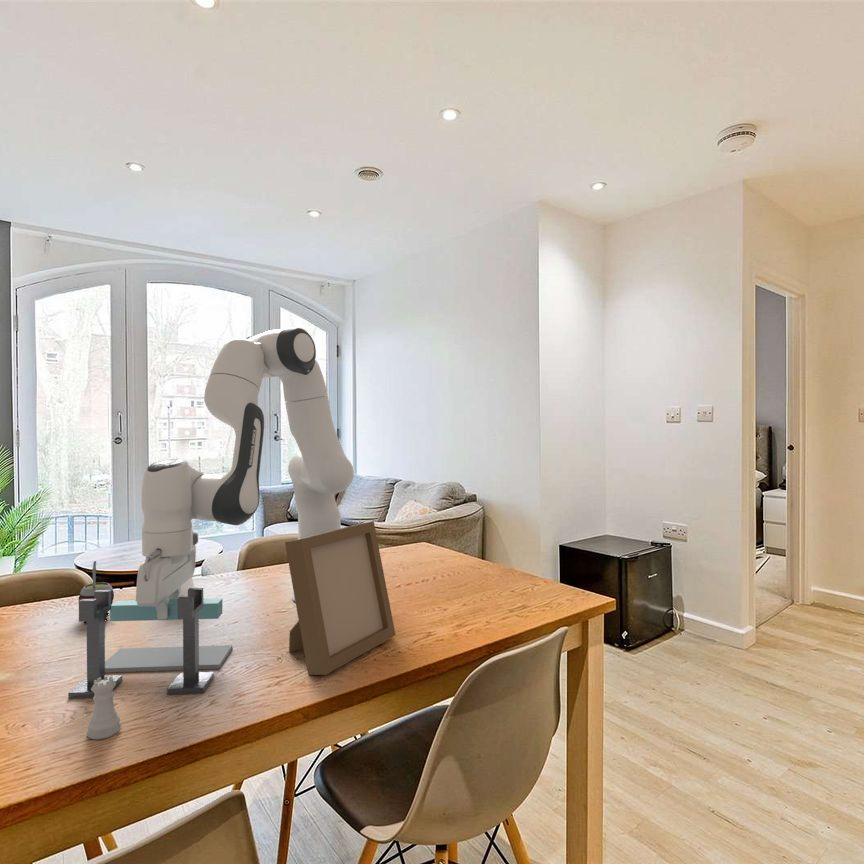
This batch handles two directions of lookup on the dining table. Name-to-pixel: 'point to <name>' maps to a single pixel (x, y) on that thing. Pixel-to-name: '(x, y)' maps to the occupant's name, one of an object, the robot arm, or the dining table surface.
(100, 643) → the forked support stand
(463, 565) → the dining table surface
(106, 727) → the rook chess piece
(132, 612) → the rail
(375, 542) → the photo frame
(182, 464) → the robot arm
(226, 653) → the mat
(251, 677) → the dining table surface
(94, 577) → the mate gourd
